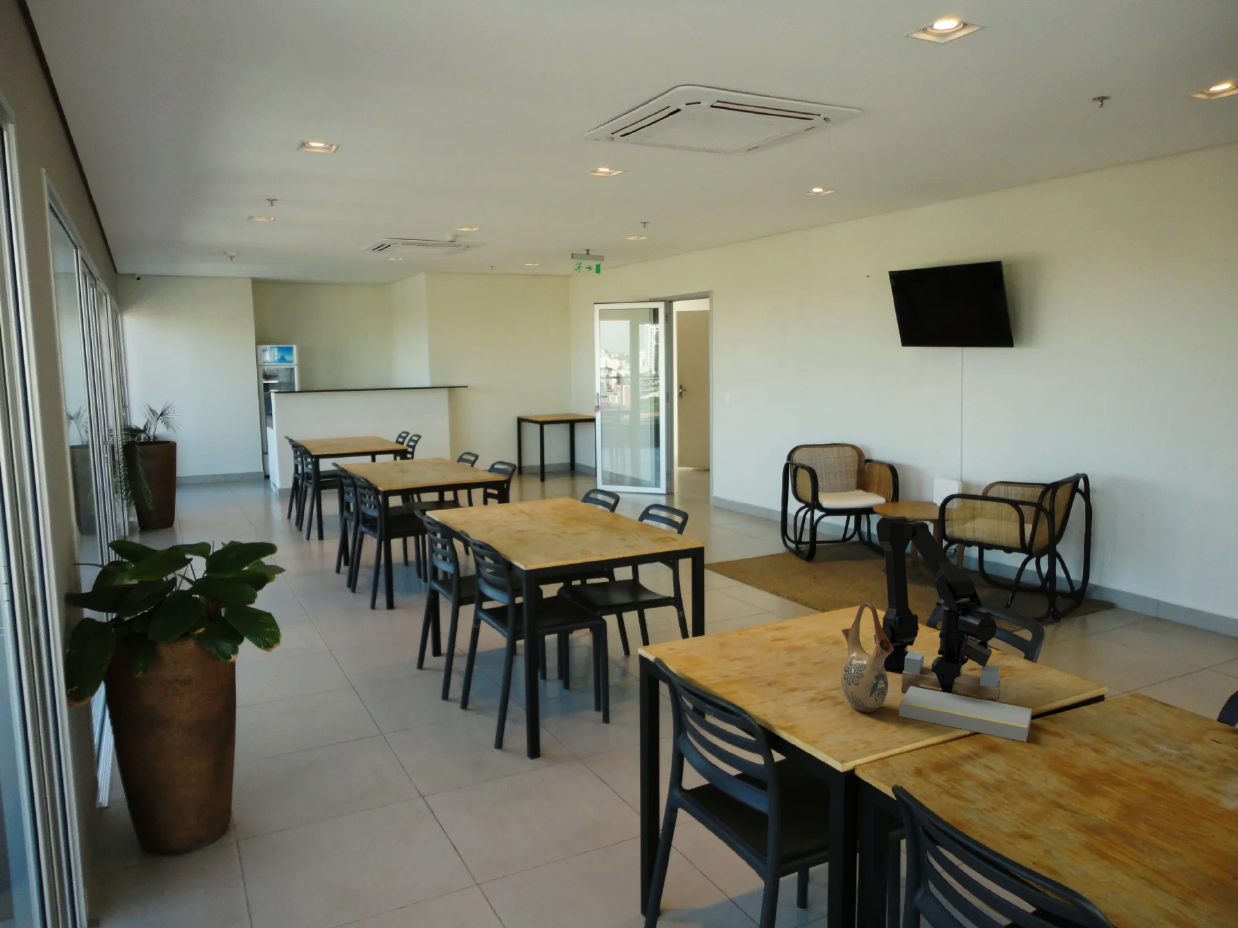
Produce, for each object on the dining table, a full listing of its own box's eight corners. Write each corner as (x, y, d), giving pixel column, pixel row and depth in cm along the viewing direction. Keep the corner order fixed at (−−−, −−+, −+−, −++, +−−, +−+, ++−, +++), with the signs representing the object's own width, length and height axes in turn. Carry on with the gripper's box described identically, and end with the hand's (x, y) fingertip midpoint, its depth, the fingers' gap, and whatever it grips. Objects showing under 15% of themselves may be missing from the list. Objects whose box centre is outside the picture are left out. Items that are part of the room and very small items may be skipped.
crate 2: (979, 685, 201) (980, 670, 201) (982, 678, 205) (983, 664, 205) (996, 688, 199) (997, 673, 199) (998, 681, 204) (999, 666, 203)
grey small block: (904, 671, 209) (904, 657, 209) (908, 665, 214) (909, 651, 213) (919, 674, 208) (920, 659, 207) (923, 667, 212) (924, 653, 212)
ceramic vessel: (825, 698, 205) (829, 594, 202) (856, 693, 209) (861, 591, 206) (870, 725, 190) (875, 614, 187) (903, 719, 194) (909, 610, 191)
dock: (899, 715, 196) (899, 702, 195) (909, 698, 206) (910, 685, 206) (1026, 741, 183) (1027, 727, 182) (1030, 721, 193) (1031, 708, 193)
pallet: (901, 692, 210) (902, 672, 209) (906, 683, 215) (907, 664, 215) (995, 710, 199) (997, 689, 199) (998, 700, 205) (1000, 680, 204)
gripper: (985, 645, 193) (980, 712, 195) (995, 623, 209) (991, 686, 211) (932, 637, 199) (929, 702, 201) (946, 616, 215) (942, 677, 217)
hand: (949, 692), depth 207 cm, fingers closed on pallet, 6 cm apart
